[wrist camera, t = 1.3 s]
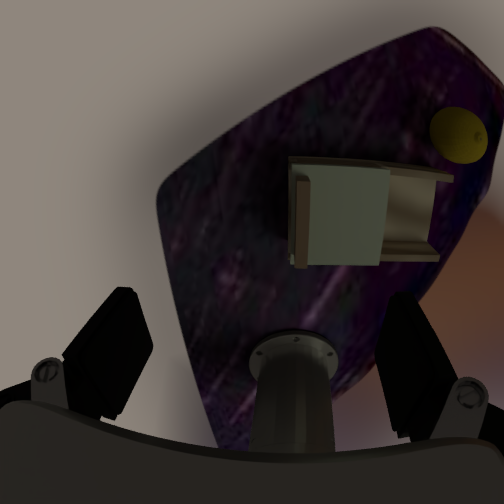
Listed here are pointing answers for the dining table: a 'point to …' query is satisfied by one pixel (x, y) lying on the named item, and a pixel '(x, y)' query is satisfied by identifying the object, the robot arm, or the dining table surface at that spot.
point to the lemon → (458, 135)
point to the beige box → (395, 206)
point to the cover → (337, 214)
